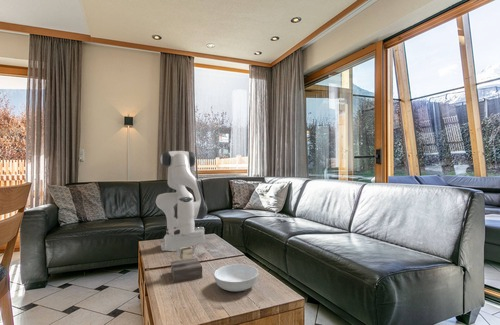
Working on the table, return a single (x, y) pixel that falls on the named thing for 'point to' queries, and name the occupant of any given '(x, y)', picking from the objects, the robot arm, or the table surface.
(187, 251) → the birch cube
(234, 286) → the serving bowl
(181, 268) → the charcoal riser block
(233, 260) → the table surface
